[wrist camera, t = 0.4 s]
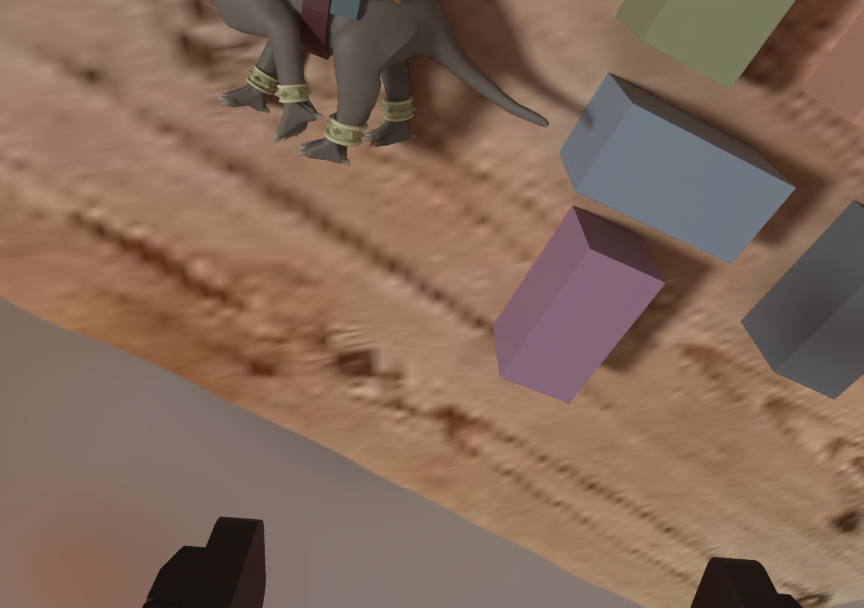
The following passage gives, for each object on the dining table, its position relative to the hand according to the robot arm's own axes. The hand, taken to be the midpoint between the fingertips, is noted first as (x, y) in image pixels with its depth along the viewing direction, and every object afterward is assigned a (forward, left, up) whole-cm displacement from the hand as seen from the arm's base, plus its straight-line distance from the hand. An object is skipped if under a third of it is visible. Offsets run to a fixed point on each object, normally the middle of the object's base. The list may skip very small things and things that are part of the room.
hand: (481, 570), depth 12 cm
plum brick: (+5, +9, -22) cm, 24 cm away
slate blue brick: (-3, +9, -22) cm, 24 cm away
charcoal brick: (-1, +21, -22) cm, 31 cm away
